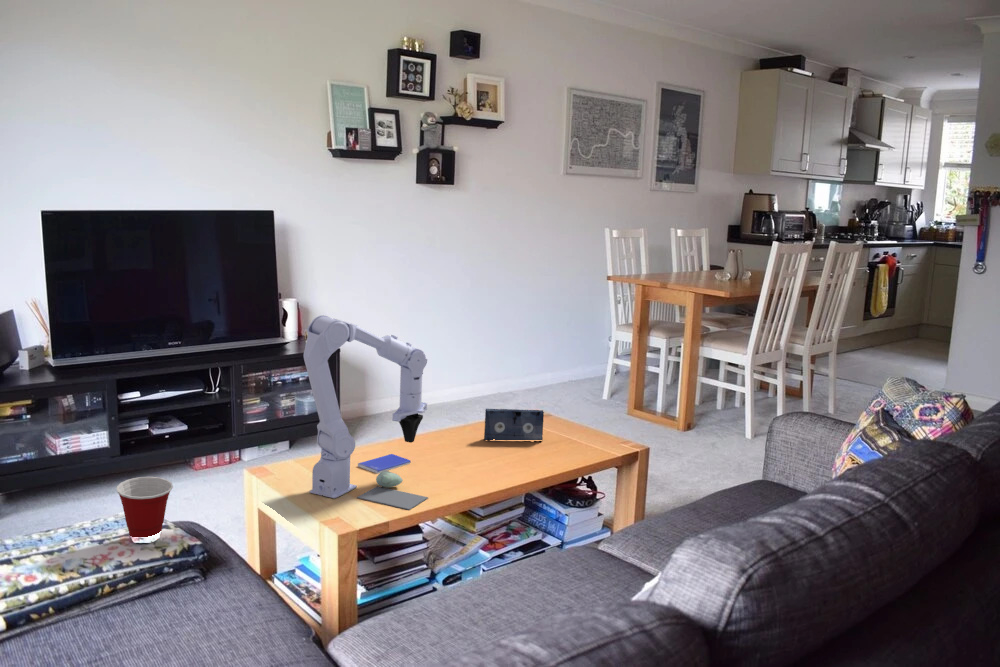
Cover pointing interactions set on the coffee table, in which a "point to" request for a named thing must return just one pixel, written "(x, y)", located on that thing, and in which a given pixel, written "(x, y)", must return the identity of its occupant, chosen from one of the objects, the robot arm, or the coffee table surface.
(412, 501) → the mat
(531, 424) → the vhs cassette tape
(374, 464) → the hard drive
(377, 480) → the grey-green rounded piece
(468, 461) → the coffee table surface
